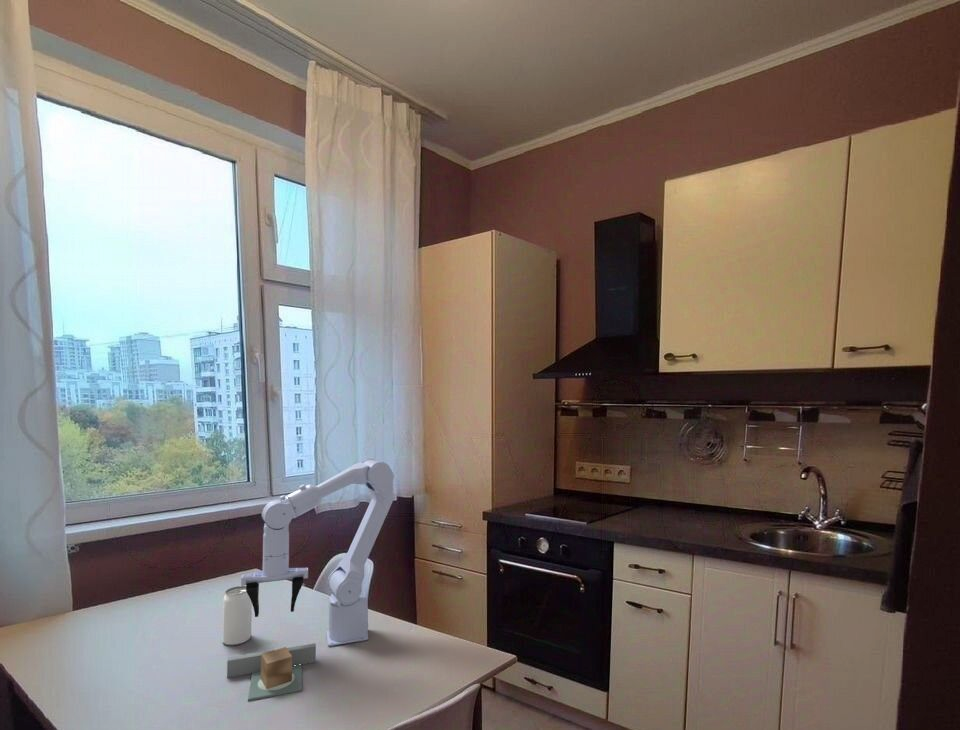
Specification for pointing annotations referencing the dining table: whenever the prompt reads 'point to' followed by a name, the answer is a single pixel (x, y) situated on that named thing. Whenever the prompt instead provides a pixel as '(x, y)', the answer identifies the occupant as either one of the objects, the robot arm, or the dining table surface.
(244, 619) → the can
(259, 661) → the low wall
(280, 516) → the robot arm
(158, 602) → the dining table surface
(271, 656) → the walnut block
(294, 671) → the mat
